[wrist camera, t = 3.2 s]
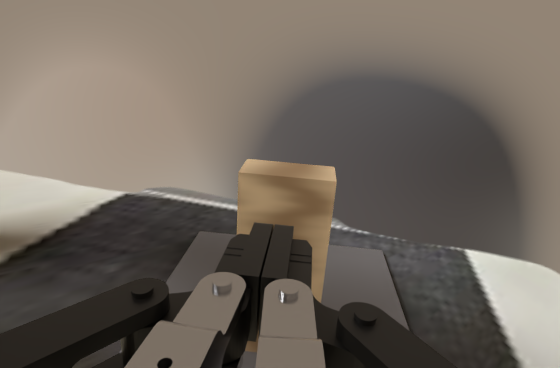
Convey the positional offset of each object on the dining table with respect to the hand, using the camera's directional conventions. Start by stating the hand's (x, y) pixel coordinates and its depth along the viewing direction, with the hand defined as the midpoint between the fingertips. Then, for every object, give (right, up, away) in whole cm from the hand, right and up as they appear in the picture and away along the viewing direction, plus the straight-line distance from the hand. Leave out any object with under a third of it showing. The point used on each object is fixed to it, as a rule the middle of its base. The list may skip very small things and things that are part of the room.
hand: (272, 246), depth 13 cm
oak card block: (0, -10, +14) cm, 18 cm away
